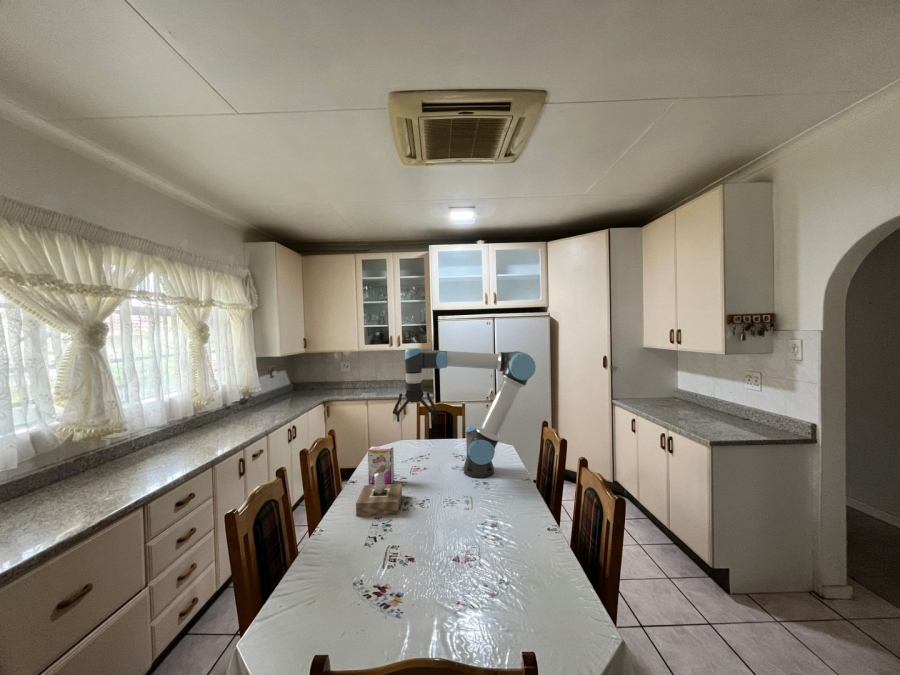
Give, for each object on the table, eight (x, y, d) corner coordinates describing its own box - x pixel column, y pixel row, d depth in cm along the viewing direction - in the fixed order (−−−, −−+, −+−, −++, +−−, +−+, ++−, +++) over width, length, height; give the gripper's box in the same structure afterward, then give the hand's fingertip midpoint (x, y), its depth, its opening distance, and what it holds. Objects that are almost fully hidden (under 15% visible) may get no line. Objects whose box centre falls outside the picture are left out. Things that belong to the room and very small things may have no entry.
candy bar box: (368, 484, 165) (367, 449, 165) (371, 480, 170) (370, 446, 170) (391, 485, 164) (390, 449, 164) (394, 480, 169) (393, 446, 169)
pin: (386, 499, 147) (384, 471, 147) (384, 504, 143) (383, 475, 143) (376, 500, 147) (375, 471, 147) (374, 505, 143) (373, 475, 143)
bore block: (401, 495, 154) (401, 483, 154) (397, 514, 138) (397, 501, 138) (364, 496, 153) (364, 485, 153) (356, 516, 137) (355, 503, 137)
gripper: (441, 379, 167) (442, 424, 167) (387, 381, 166) (389, 426, 166) (441, 382, 159) (442, 429, 160) (385, 384, 158) (387, 431, 159)
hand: (415, 428), depth 163 cm, fingers open, 13 cm apart
